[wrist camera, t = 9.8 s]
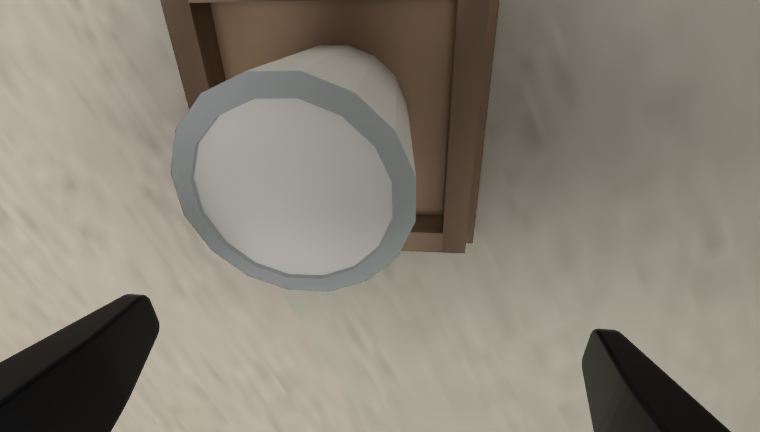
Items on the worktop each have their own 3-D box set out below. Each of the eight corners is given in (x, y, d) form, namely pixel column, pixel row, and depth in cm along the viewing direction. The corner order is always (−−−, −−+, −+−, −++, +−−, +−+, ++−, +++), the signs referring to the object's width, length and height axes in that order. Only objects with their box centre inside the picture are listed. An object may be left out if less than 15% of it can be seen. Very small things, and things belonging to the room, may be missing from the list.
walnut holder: (501, -59, 15) (513, -61, 12) (471, 231, 21) (475, 262, 19) (172, -48, 16) (133, -48, 14) (237, 222, 22) (217, 251, 20)
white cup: (405, 203, 19) (393, 313, 13) (257, 173, 19) (179, 271, 13) (441, 45, 16) (446, 101, 10) (258, 9, 16) (151, 43, 10)
